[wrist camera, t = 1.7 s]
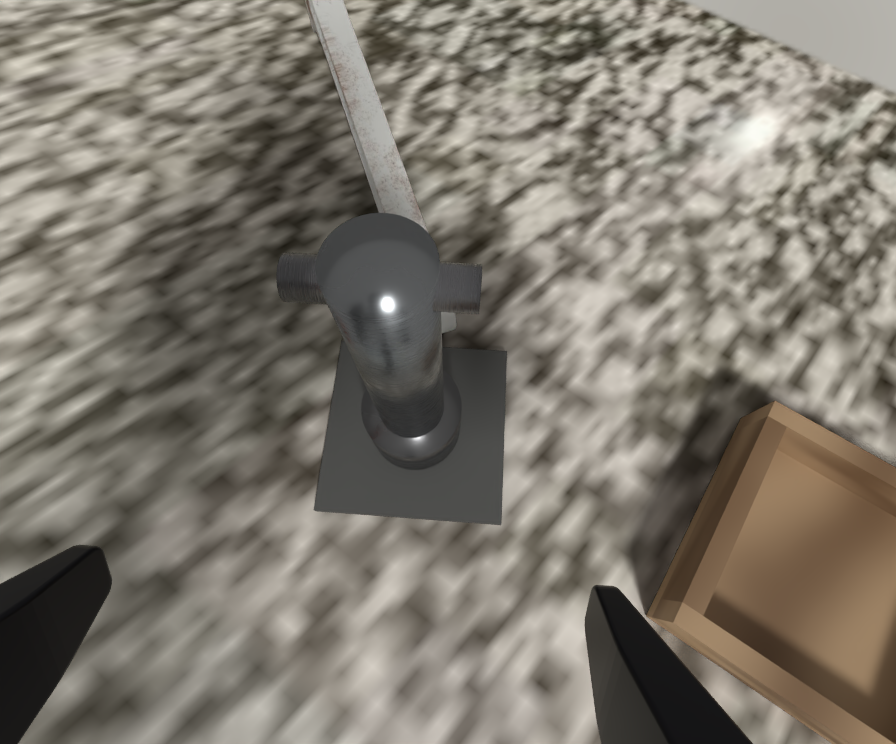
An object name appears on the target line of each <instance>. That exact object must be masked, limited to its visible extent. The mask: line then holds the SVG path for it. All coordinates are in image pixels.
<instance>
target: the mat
mask: <svg viewBox="0 0 896 744" xmlns="http://www.w3.org/2000/svg"><path fill="white" fill-rule="evenodd" d="M442 355H443V370H444V371H445V372H446V373H448V374H449V375H450V377H451V378H452V379H453V380H454V382H455V384H456V385H457V388H458V390H459V393H460V396H461V403H462V411H461V424H460V433H459V438H458V441H457V443H456V445H455V447H454V449H453V451H452V452H451V453H450V454H449V455H448V456H447V457H446V458H445V459H444V460H443V461H442V462H440V463H439V464H437V465H435V466H433V467H430V468H427V469H422V470H408V469H403V468H400V467H398V466H395V465H393V464H392V463H390V462H389V461H388V460H386V459H385V458H384V457H383V456H382V455H381V453H380V452H379V451H378V449H377V447H376V446H375V444H374V442H373V441H372V439H371V438H370V436H369V434H368V433H367V431H366V429H365V427H364V424H363V421H362V416H361V402H362V398H363V394H364V392H365V389H366V386H365V384H364V382H363V379H362V377H361V375H360V373H359V371H358V369H357V367H356V364H355V362H354V360H353V358H352V356H351V354H350V351H349V349H348V347H347V345H346V343H345V341H343V340H342V343H341V349H340V355H339V361H338V367H337V373H336V379H335V385H334V391H333V397H332V403H331V409H330V415H329V421H328V427H327V433H326V440H325V446H324V452H323V458H322V464H321V470H320V476H319V482H318V488H317V494H316V500H315V506H314V510H315V511H322V512H335V513H348V514H361V515H375V516H388V517H401V518H415V519H428V520H441V521H454V522H468V523H481V524H494V525H501V519H502V488H503V456H504V425H505V393H506V361H507V351H495V350H480V349H465V348H450V347H442Z"/></svg>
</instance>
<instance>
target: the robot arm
mask: <svg viewBox="0 0 896 744" xmlns="http://www.w3.org/2000/svg"><path fill="white" fill-rule="evenodd" d="M111 585H112V578H111V574H110V571H109V567H108V564H107V561H106V557H105V554H104V551H103V550H102V549H101V548H100V547H98V546H89V545H76V546H73V547H71V548H69V549H67V550H65V551H63V552H61V553H59V554H57V555H55V556H53V557H51V558H50V559H48V560H46V561H44V562H42V563H40V564H38V565H36V566H34V567H32V568H30V569H28V570H26V571H24V572H22V573H20V574H19V575H17V576H15V577H13V578H11V579H9V580H7V581H5V582H3V583H1V584H0V744H18V743H19V741H20V740H21V738H22V737H23V735H24V734H25V732H26V731H27V729H28V728H29V726H30V725H31V723H32V722H33V720H34V719H35V717H36V716H37V714H38V713H39V711H40V710H41V708H42V707H43V705H44V704H45V702H46V701H47V699H48V698H49V696H50V695H51V693H52V692H53V690H54V689H55V687H56V686H57V684H58V683H59V681H60V679H61V678H62V676H63V675H64V673H65V671H66V669H67V668H68V666H69V664H70V663H71V661H72V659H73V657H74V655H75V654H76V652H77V650H78V648H79V646H80V645H81V643H82V641H83V639H84V637H85V636H86V634H87V632H88V630H89V628H90V627H91V625H92V623H93V621H94V619H95V617H96V616H97V614H98V612H99V610H100V608H101V607H102V605H103V603H104V601H105V599H106V598H107V596H108V594H109V592H110V589H111ZM585 634H586V642H587V650H588V658H589V666H590V674H591V681H592V689H593V697H594V705H595V712H596V719H597V725H598V730H599V735H600V740H601V744H753V743H752V742H751V741H750V740H749V739H748V737H747V736H746V735H745V734H744V733H743V732H742V731H741V729H740V728H739V727H738V726H737V725H736V724H735V722H734V721H733V720H732V719H731V718H730V717H729V715H728V714H727V713H726V712H725V711H724V710H723V709H722V707H721V706H720V705H719V704H718V703H717V702H716V700H715V699H714V698H713V697H712V696H711V695H710V694H709V692H708V691H707V690H706V689H705V688H704V687H703V685H702V684H701V683H700V682H699V681H698V680H697V679H696V677H695V676H694V675H693V674H692V673H691V672H690V670H689V669H688V668H687V667H686V666H685V665H684V664H683V662H682V661H681V660H680V659H679V658H678V657H677V655H676V654H675V653H674V652H673V651H672V650H671V649H670V647H669V646H668V645H667V644H666V643H665V642H664V640H663V639H662V638H661V637H660V636H659V635H658V634H657V632H656V631H655V630H654V629H653V628H652V627H651V625H650V624H649V623H648V622H647V621H646V620H645V619H644V617H643V616H642V615H641V614H640V613H639V612H638V610H637V609H636V608H635V607H634V606H633V605H632V604H631V602H630V601H629V600H628V599H627V598H626V597H625V595H624V594H623V593H622V592H621V591H620V590H619V589H618V588H617V587H614V586H604V585H595V586H593V588H592V590H591V594H590V598H589V603H588V607H587V611H586V616H585Z"/></svg>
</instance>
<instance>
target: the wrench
mask: <svg viewBox="0 0 896 744" xmlns="http://www.w3.org/2000/svg"><path fill="white" fill-rule="evenodd" d="M305 3H306V6H307V10H308V14H309V18H310V21H311V25H312V29H313V32H317V34H318V37H319V39H320V42H321V44H322V47H323V50H324V53H325V55H326V58H327V61H328V64H329V67H330V70H331V73H332V76H333V79H334V82H335V85H336V88H337V91H338V94H339V96H340V99H341V102H342V105H343V108H344V111H345V114H346V117H347V120H348V123H349V126H350V129H351V132H352V135H353V138H354V141H355V144H356V147H357V150H358V153H359V156H360V158H361V161H362V164H363V167H364V170H365V173H366V176H367V179H368V182H369V185H370V188H371V191H372V194H373V197H374V200H375V203H376V206H377V208H378V211H379V213H390V214H396V215H400V216H403V217H406V218H408V219H410V220H412V221H414V222H416V223H417V224H419V225H420V226H421V227H423V228H424V229H425V230H426V231H427V228H426V226H425V223H424V220H423V217H422V215H421V212H420V209H419V207H418V204H417V201H416V198H415V196H414V193H413V190H412V187H411V185H410V182H409V179H408V176H407V174H406V171H405V168H404V166H403V163H402V160H401V157H400V155H399V152H398V149H397V146H396V144H395V141H394V138H393V135H392V133H391V130H390V127H389V124H388V122H387V119H386V116H385V114H384V111H383V108H382V105H381V103H380V100H379V97H378V94H377V92H376V89H375V86H374V83H373V81H372V78H371V75H370V73H369V70H368V67H367V64H366V62H365V59H364V56H363V53H362V51H361V48H360V45H359V42H358V40H357V37H356V34H355V32H354V29H353V26H352V23H351V21H350V18H349V15H348V12H347V10H346V7H345V4H344V1H343V0H305ZM427 232H428V231H427ZM441 323H442V333H445V332H448V331H451V330H455V329H456V323H457V322H456V315H455V313H451V312H441Z"/></svg>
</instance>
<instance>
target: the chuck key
mask: <svg viewBox="0 0 896 744" xmlns="http://www.w3.org/2000/svg"><path fill="white" fill-rule="evenodd" d="M481 279H482V264H466V263H450V262H440V260H439V253H438V250H437V247H436V244H435V242H434V240H433V239H432V237H431V236H430V234H429V233H428V232H427V231H426V230H425V229H424V228H423V227H421V226H420V225H419V224H417V223H416V222H414V221H412V220H410V219H408V218H406V217H403V216H400V215H396V214H390V213H371V214H366V215H361V216H358V217H355V218H353V219H350V220H348V221H346V222H345V223H343V224H341V225H340V226H338V227H337V228H336V229H335V230H334V231H333V232H331V233H330V234H329V236H328V237H327V238H326V239H325V241H324V242H323V244H322V246H321V248H320V250H319V252H318V254H302V253H283V254H282V255H281V257H280V259H279V262H278V266H277V288H278V293H279V296H280V298H281V299H282V300H283V301H284V302H294V303H310V304H326V305H328V306H329V308H330V311H331V313H332V315H333V317H334V319H335V321H336V324H337V326H338V328H339V330H340V332H341V334H342V336H343V339H344V341H345V343H346V345H347V347H348V349H349V351H350V354H351V356H352V358H353V360H354V362H355V364H356V367H357V369H358V371H359V373H360V375H361V377H362V379H363V382H364V384H365V386H366V389H365V392H364V394H363V398H362V402H361V416H362V421H363V424H364V427H365V429H366V431H367V433H368V434H369V436H370V438H371V439H372V441H373V442H374V444H375V446H376V447H377V449H378V451H379V452H380V453H381V455H382V456H383V457H384V458H385V459H386V460H388V461H389V462H390V463H392V464H393V465H395V466H398V467H400V468H403V469H408V470H422V469H427V468H430V467H433V466H435V465H437V464H439V463H440V462H442V461H443V460H444V459H445V458H446V457H447V456H448V455H449V454H450V453H451V452H452V451H453V449H454V447H455V445H456V443H457V441H458V438H459V433H460V424H461V411H462V403H461V396H460V393H459V390H458V388H457V385H456V384H455V382H454V380H453V379H452V378H451V377H450V375H449V374H448V373H446V372H445V371H444V370H443V355H442V323H441V312H451V313H467V314H479V306H480V294H481Z"/></svg>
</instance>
